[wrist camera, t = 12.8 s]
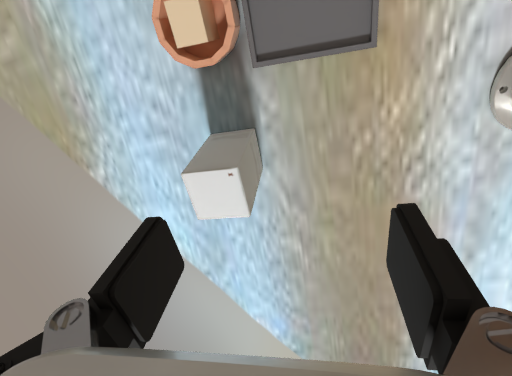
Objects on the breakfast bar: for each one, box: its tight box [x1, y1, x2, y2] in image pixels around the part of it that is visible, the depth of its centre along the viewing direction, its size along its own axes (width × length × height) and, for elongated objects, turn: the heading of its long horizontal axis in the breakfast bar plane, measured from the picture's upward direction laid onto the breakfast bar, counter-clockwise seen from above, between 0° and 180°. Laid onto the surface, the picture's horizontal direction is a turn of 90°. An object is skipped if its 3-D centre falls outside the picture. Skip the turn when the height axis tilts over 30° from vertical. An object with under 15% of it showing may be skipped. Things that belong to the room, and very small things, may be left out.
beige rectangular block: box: [164, 0, 220, 48], centre depth 32 cm, size 4×4×5 cm
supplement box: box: [181, 128, 263, 220], centre depth 38 cm, size 7×7×13 cm
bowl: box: [152, 0, 240, 68], centre depth 33 cm, size 10×10×4 cm
